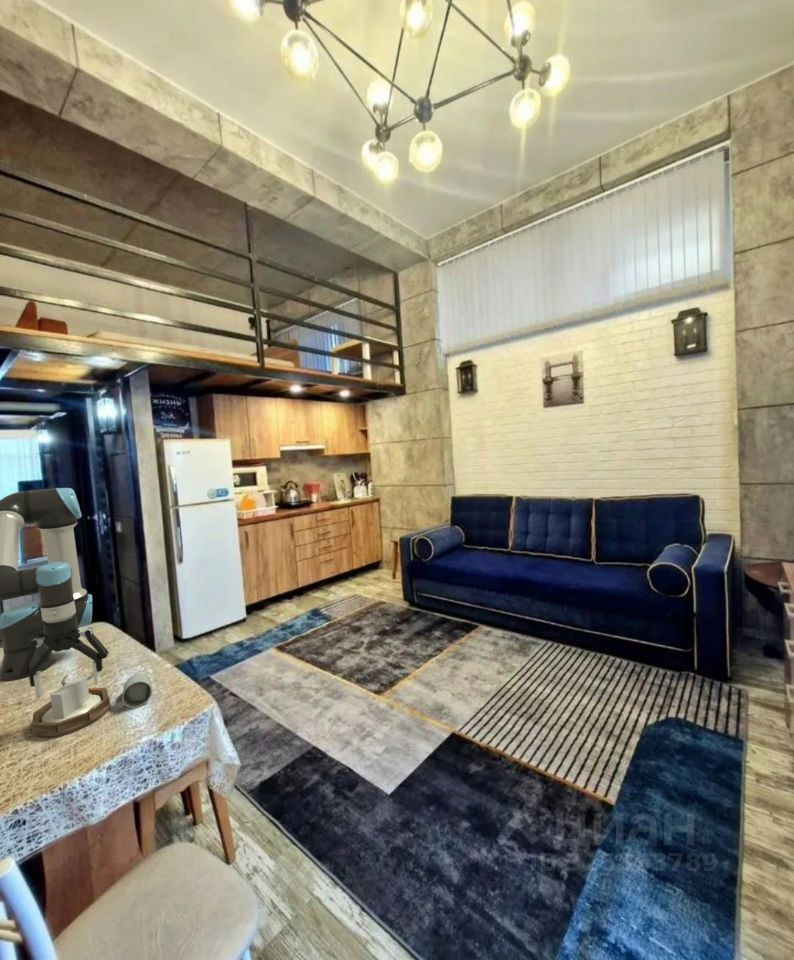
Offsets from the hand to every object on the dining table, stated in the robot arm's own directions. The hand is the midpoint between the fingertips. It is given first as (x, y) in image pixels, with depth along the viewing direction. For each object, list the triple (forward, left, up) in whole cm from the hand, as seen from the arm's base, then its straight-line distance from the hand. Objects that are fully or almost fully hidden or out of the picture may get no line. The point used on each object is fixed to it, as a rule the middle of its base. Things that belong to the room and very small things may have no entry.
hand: (69, 688), depth 122 cm
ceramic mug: (+5, +14, -9) cm, 18 cm away
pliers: (-22, +2, -9) cm, 24 cm away
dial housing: (0, 0, -8) cm, 8 cm away
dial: (0, 0, -7) cm, 7 cm away
